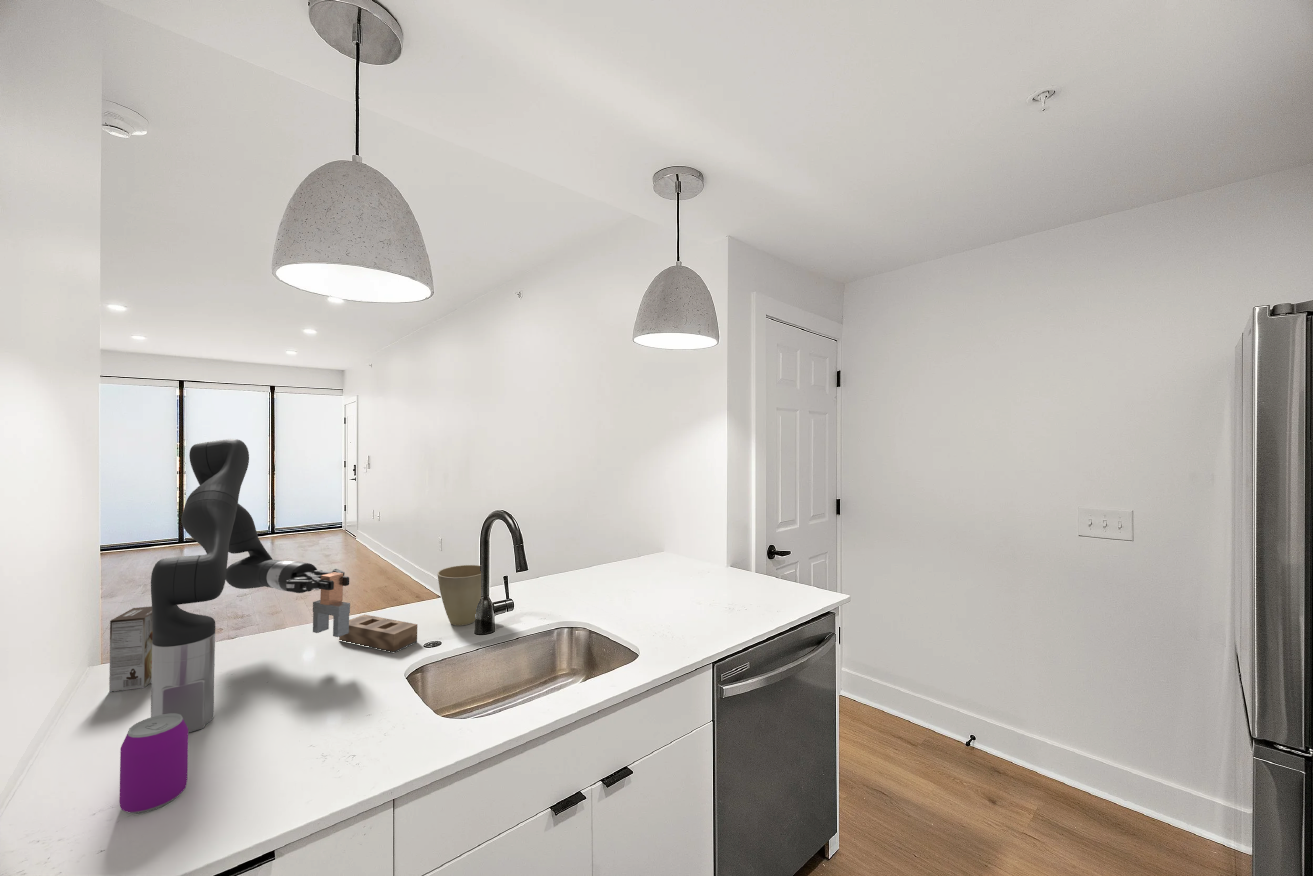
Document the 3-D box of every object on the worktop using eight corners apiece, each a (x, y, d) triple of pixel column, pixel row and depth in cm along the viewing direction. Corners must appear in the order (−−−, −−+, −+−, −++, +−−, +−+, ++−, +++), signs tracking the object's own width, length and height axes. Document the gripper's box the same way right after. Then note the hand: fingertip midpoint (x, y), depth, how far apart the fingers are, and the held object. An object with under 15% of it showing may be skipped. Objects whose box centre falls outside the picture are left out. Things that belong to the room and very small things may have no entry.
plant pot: (451, 612, 169) (452, 563, 169) (494, 614, 168) (495, 566, 168) (426, 629, 154) (427, 576, 154) (474, 632, 153) (475, 578, 153)
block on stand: (350, 632, 129) (351, 574, 129) (337, 637, 125) (338, 578, 126) (324, 627, 132) (326, 571, 132) (311, 632, 129) (312, 574, 129)
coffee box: (131, 674, 122) (133, 607, 122) (166, 670, 125) (167, 604, 125) (107, 693, 114) (109, 620, 114) (145, 688, 116) (146, 617, 116)
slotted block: (417, 642, 145) (417, 624, 145) (393, 653, 137) (393, 634, 137) (364, 631, 152) (364, 614, 152) (339, 641, 144) (339, 623, 144)
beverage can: (104, 813, 78) (106, 734, 78) (160, 780, 86) (162, 708, 86) (147, 820, 77) (148, 740, 77) (200, 786, 85) (201, 713, 85)
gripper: (263, 567, 127) (313, 575, 121) (318, 556, 141) (365, 562, 135) (263, 598, 127) (312, 607, 121) (318, 584, 140) (365, 591, 135)
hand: (340, 583), depth 128 cm, fingers closed on block on stand, 3 cm apart
